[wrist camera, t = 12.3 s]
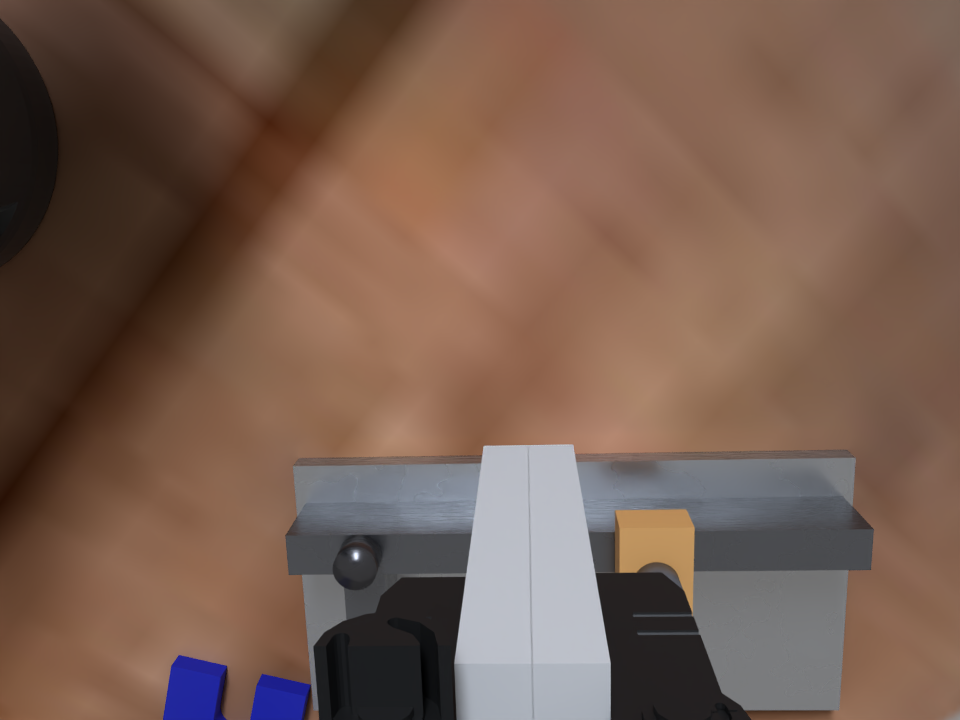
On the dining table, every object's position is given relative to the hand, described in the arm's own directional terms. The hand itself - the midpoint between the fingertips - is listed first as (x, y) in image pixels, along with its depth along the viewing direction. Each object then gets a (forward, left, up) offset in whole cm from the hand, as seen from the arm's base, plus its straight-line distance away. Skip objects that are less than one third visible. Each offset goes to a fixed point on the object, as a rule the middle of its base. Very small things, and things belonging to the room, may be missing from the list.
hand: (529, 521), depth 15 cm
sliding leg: (+5, -15, -28) cm, 32 cm away
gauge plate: (+2, -16, -29) cm, 34 cm away
